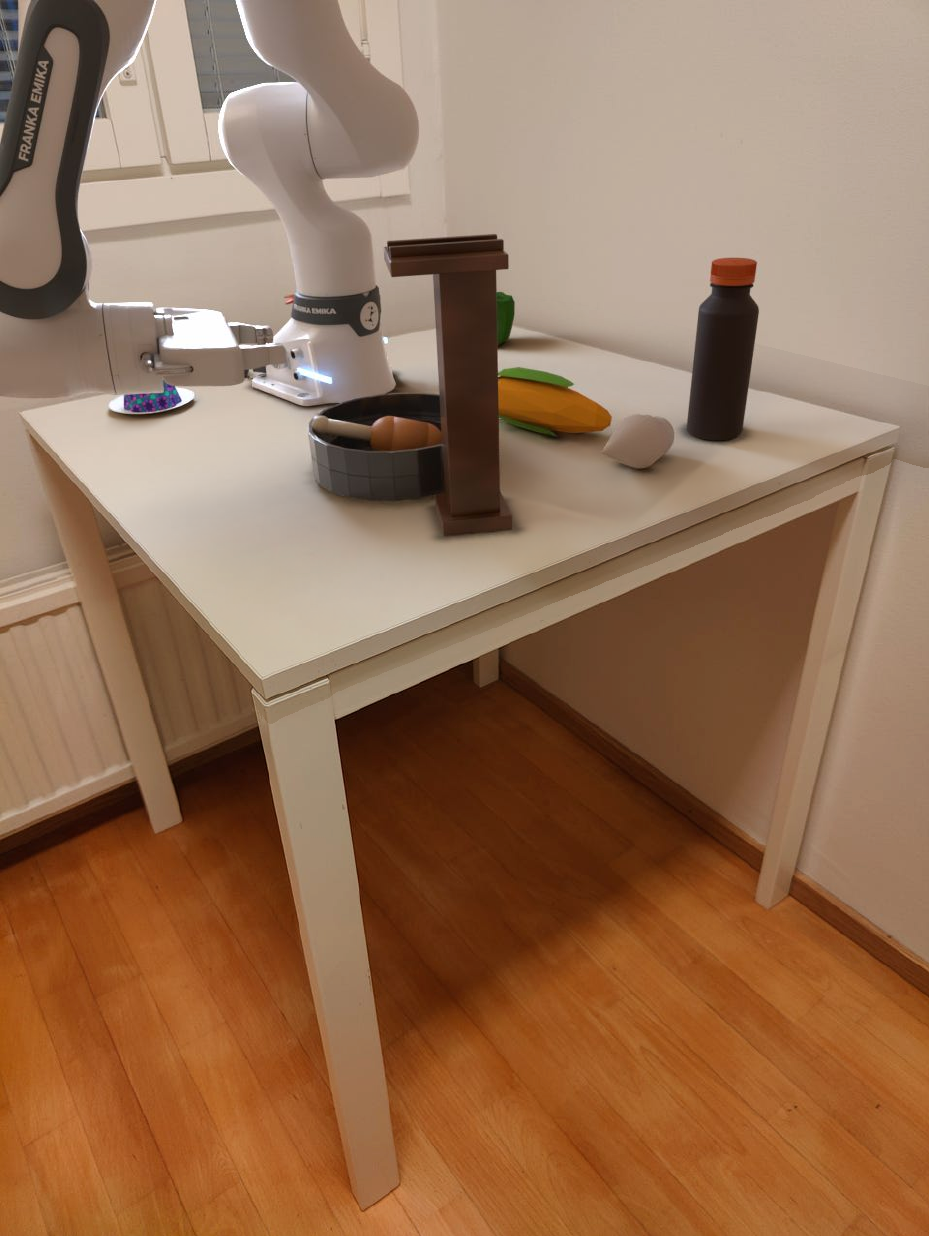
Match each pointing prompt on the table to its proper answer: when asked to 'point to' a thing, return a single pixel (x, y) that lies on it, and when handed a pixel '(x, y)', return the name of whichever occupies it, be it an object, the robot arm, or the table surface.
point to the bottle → (723, 352)
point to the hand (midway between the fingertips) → (278, 343)
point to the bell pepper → (504, 316)
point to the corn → (547, 403)
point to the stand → (464, 372)
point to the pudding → (152, 401)
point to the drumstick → (383, 432)
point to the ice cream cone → (640, 440)
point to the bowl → (378, 472)
